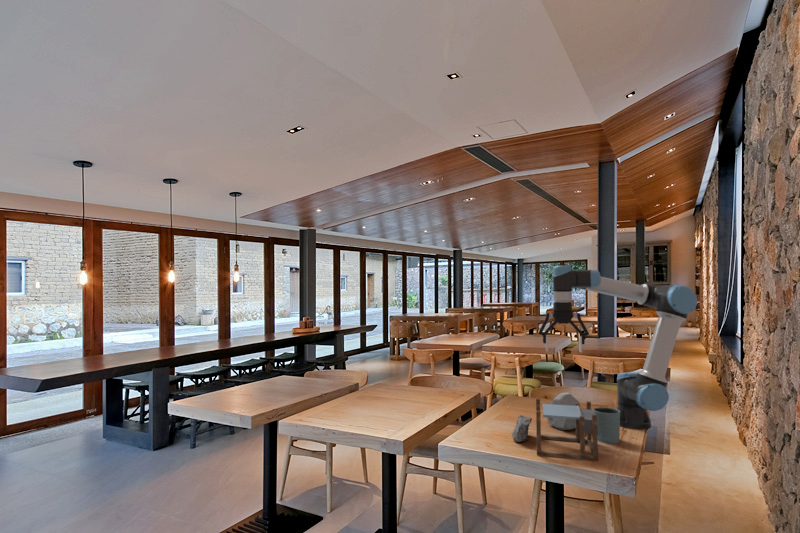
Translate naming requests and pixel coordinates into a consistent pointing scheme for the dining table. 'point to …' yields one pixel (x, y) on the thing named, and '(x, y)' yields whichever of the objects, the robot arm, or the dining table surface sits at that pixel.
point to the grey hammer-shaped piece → (570, 414)
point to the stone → (562, 422)
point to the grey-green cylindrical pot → (608, 424)
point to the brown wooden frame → (579, 437)
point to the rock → (521, 429)
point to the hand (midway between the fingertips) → (563, 351)
